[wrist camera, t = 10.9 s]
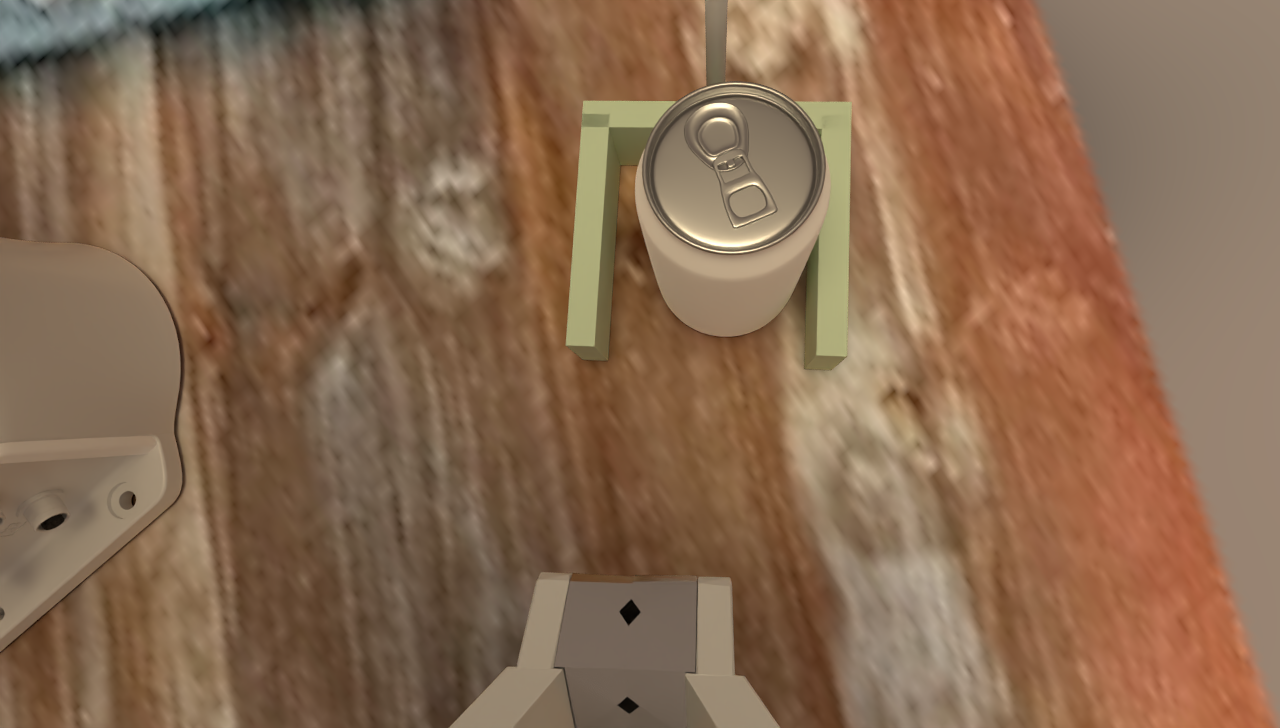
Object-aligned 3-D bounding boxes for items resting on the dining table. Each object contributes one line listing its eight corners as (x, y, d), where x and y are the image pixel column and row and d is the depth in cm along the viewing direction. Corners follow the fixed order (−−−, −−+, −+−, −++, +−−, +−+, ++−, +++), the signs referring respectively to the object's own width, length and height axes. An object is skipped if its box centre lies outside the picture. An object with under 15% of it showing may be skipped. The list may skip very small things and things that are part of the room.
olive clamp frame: (831, 370, 33) (915, 298, 19) (582, 359, 34) (495, 285, 20) (837, 65, 35) (917, -197, 21) (602, 65, 36) (535, -183, 23)
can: (763, 184, 35) (788, 35, 23) (818, 307, 34) (876, 218, 22) (636, 236, 35) (597, 116, 23) (688, 360, 34) (674, 301, 22)
